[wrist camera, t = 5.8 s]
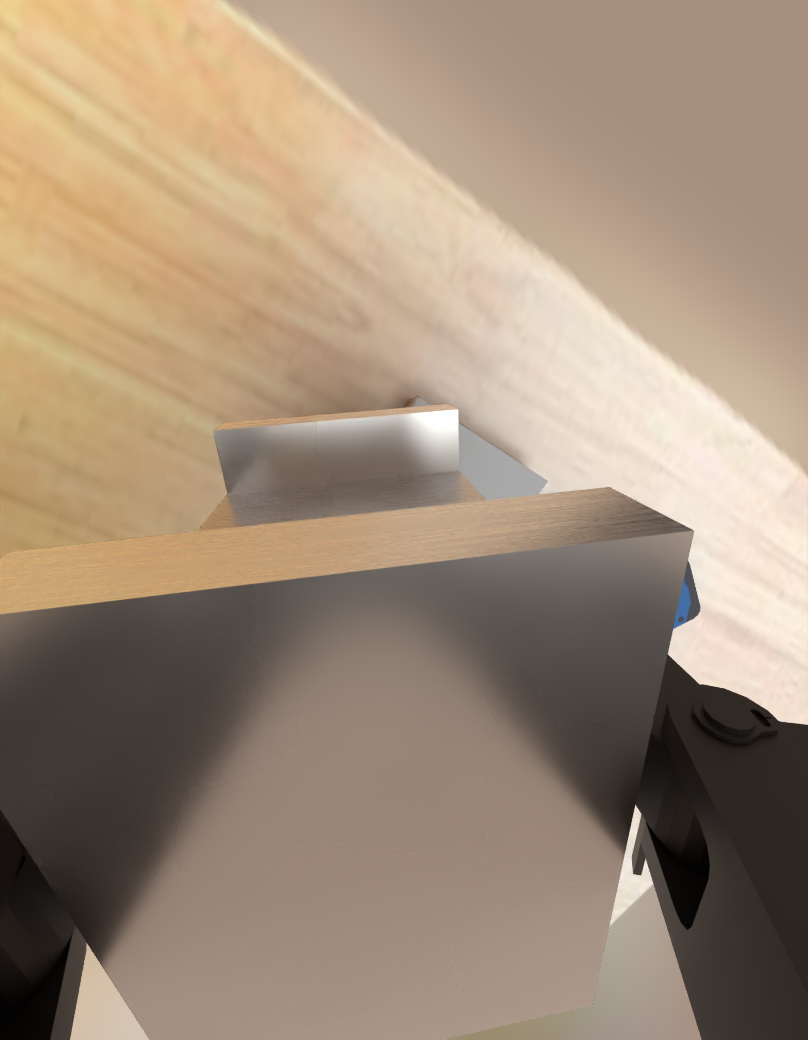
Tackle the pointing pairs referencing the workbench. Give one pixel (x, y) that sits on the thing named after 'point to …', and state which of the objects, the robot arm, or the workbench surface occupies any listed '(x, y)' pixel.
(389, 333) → the workbench surface
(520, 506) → the block
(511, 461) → the stand
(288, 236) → the workbench surface
